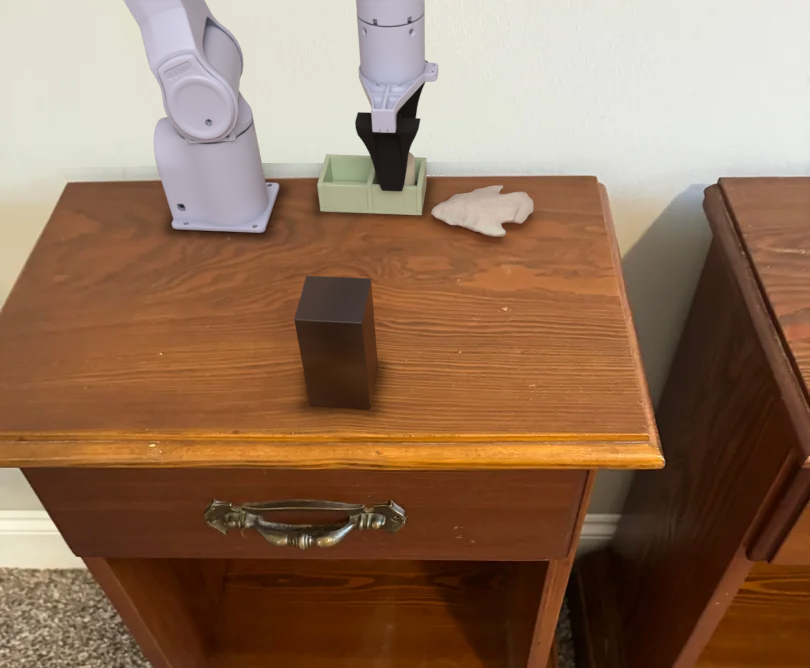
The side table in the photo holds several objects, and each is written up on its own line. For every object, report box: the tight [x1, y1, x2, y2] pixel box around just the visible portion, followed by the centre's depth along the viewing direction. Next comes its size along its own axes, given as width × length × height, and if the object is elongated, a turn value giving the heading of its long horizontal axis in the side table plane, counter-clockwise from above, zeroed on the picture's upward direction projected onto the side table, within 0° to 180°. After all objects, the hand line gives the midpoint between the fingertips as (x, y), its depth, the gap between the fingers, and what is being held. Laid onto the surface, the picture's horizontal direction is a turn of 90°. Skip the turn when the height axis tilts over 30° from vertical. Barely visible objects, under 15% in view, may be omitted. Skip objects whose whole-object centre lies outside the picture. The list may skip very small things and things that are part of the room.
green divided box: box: [316, 153, 428, 216], centre depth 78 cm, size 10×5×3 cm, turn 84°
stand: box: [293, 275, 379, 410], centre depth 61 cm, size 5×5×9 cm
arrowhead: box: [430, 184, 534, 238], centre depth 76 cm, size 8×3×10 cm
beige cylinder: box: [404, 151, 416, 186], centre depth 77 cm, size 3×3×4 cm
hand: (396, 166), depth 76 cm, fingers open, 7 cm apart
